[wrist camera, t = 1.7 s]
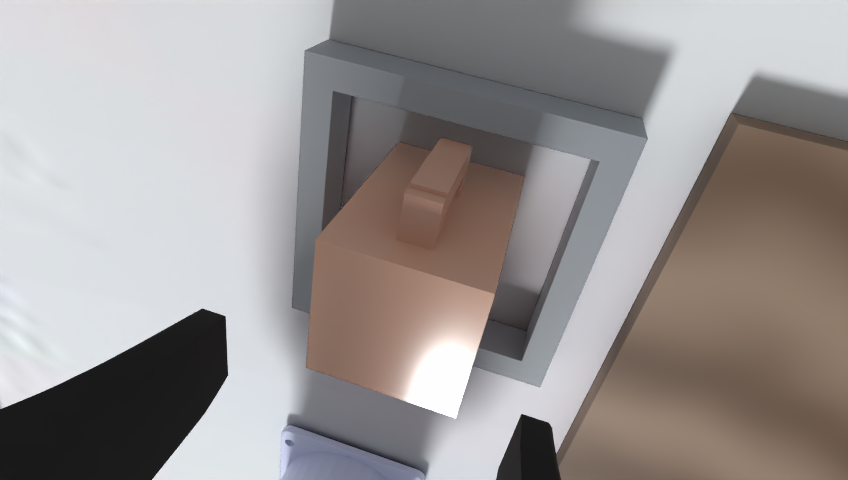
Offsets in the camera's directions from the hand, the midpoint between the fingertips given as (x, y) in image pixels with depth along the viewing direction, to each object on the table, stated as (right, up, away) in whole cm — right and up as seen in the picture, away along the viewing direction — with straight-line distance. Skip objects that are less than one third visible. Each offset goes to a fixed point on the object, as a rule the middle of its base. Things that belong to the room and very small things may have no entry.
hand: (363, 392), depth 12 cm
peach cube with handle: (+2, +5, +8) cm, 9 cm away
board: (+14, -3, +8) cm, 17 cm away
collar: (+2, +5, +7) cm, 9 cm away
